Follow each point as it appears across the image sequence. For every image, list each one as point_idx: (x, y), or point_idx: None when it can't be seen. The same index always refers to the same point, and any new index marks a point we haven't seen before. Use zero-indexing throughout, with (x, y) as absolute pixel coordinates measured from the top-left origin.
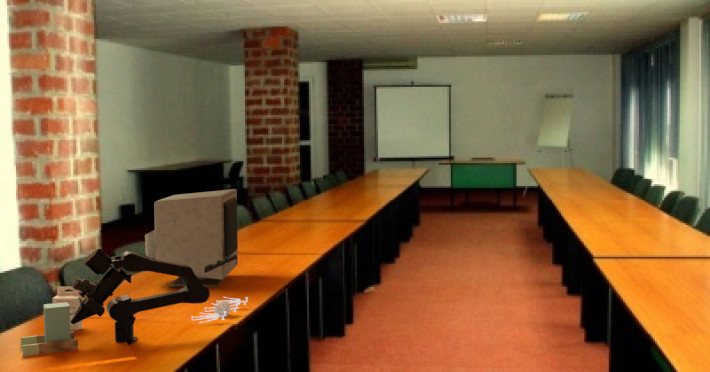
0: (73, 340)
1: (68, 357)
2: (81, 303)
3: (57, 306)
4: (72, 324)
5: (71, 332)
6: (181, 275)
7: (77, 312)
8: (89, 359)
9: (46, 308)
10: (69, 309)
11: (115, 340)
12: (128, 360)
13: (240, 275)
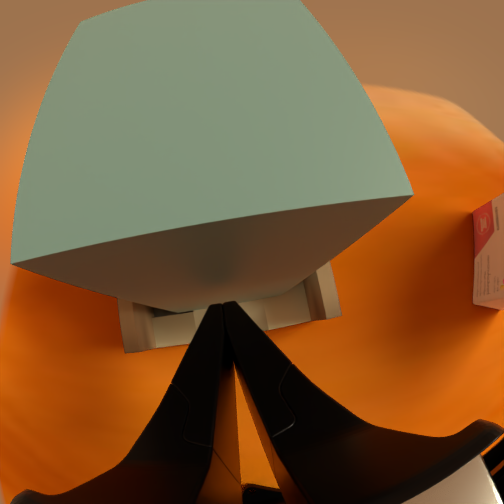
0: (121, 327)
1: (79, 304)
2: (30, 492)
3: (85, 81)
4: (495, 276)
5: (323, 302)
6: None
7: (191, 390)
8: (40, 382)
9: (77, 29)
10: (48, 273)
11: (264, 501)
12: (29, 482)
13: None
